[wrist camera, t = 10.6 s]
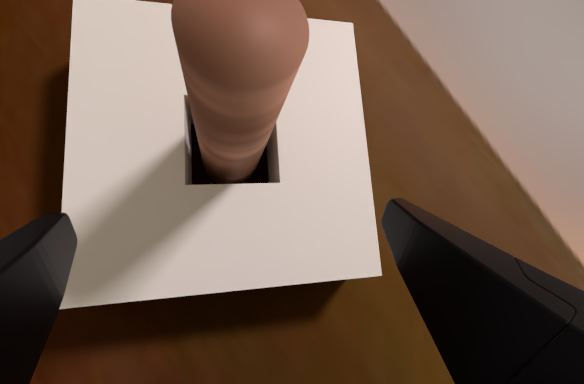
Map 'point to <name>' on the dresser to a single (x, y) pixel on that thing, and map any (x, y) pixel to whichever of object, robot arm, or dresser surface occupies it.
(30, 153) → the dresser surface
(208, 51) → the peg
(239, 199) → the hole block
